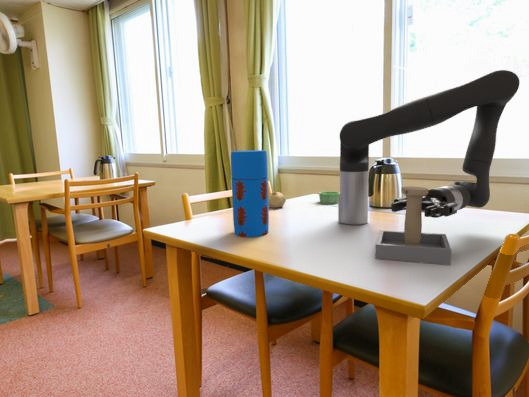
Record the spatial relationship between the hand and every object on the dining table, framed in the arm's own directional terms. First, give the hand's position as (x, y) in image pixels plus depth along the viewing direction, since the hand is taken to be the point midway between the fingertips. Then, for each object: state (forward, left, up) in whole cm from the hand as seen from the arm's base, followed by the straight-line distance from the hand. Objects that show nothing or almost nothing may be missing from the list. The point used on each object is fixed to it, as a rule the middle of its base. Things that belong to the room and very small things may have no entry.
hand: (408, 210), depth 90 cm
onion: (-51, +51, -11) cm, 73 cm away
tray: (+1, +2, -11) cm, 11 cm away
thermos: (-45, +10, -11) cm, 47 cm away
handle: (+1, +2, -10) cm, 10 cm away
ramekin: (-32, +67, -11) cm, 75 cm away
